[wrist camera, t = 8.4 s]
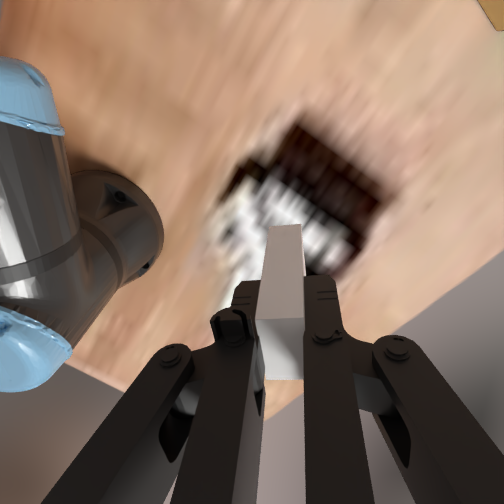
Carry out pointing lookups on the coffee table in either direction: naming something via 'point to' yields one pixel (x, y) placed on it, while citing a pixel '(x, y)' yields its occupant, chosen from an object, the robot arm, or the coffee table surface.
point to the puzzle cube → (494, 12)
